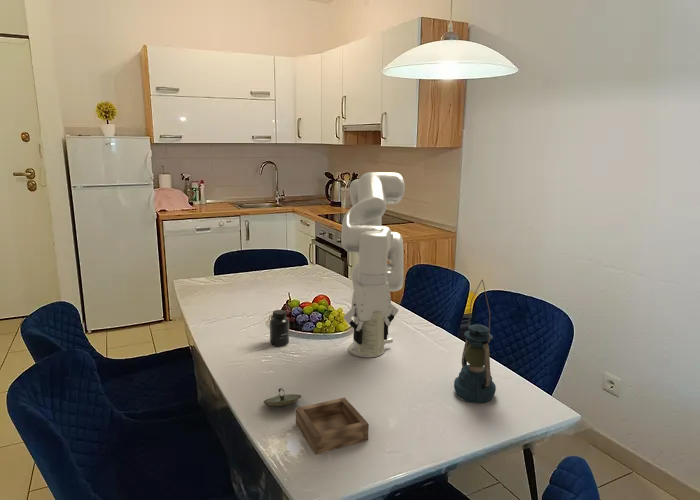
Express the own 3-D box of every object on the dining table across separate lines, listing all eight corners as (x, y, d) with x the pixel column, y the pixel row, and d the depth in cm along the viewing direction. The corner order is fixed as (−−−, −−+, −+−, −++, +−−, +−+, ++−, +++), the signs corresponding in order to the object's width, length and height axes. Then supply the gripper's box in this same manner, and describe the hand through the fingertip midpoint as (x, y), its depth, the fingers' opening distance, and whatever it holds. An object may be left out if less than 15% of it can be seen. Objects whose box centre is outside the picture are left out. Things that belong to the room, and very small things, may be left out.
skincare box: (384, 350, 138) (385, 308, 135) (378, 356, 134) (379, 314, 131) (363, 346, 141) (363, 304, 138) (356, 352, 137) (357, 309, 134)
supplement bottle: (285, 348, 177) (285, 315, 175) (267, 346, 179) (266, 314, 176) (291, 340, 184) (291, 309, 181) (274, 338, 185) (273, 307, 183)
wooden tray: (344, 412, 136) (344, 397, 135) (368, 440, 124) (368, 423, 123) (295, 424, 130) (295, 408, 129) (315, 454, 118) (315, 437, 117)
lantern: (505, 403, 142) (516, 285, 135) (468, 409, 139) (477, 288, 131) (479, 380, 156) (487, 271, 148) (444, 385, 152) (451, 274, 145)
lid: (269, 419, 132) (268, 401, 131) (259, 401, 141) (258, 385, 140) (306, 410, 137) (306, 394, 136) (295, 394, 146) (294, 378, 145)
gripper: (394, 270, 139) (391, 330, 144) (336, 277, 132) (336, 340, 136) (408, 278, 133) (405, 340, 137) (348, 285, 126) (347, 351, 130)
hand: (370, 339), depth 137 cm, fingers closed on skincare box, 7 cm apart
